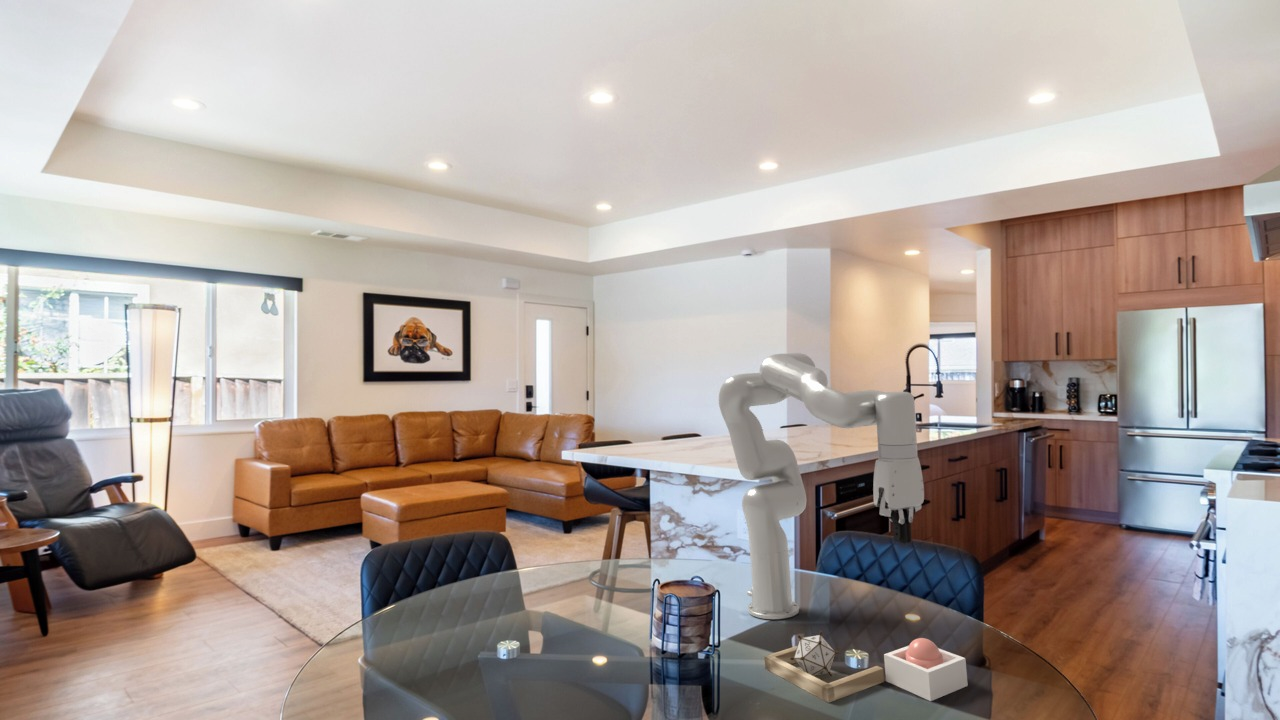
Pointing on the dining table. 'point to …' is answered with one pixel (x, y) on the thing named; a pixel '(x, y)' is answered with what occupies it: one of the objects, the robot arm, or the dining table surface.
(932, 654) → the dome
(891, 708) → the dining table surface
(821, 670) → the game die
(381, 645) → the dining table surface
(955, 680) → the white open box
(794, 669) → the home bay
